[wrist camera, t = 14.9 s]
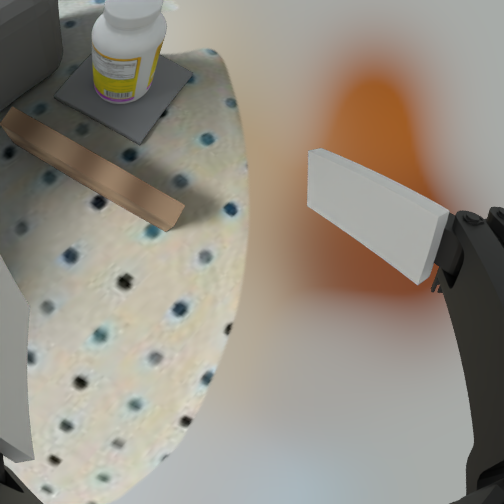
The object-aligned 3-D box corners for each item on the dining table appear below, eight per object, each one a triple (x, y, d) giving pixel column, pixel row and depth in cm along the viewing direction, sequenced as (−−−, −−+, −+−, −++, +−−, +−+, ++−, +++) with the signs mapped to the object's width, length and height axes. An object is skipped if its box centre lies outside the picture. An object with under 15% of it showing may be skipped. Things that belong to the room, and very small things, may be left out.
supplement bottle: (132, 51, 28) (151, -29, 16) (162, 87, 30) (192, 9, 18) (83, 78, 26) (79, -4, 14) (111, 117, 27) (116, 39, 16)
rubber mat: (54, 98, 25) (53, 95, 24) (113, 35, 28) (114, 32, 27) (139, 145, 29) (140, 142, 29) (192, 75, 32) (193, 73, 31)
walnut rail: (13, 142, 23) (-1, 123, 19) (24, 127, 24) (12, 106, 19) (165, 231, 30) (174, 225, 25) (175, 214, 31) (185, 205, 26)
